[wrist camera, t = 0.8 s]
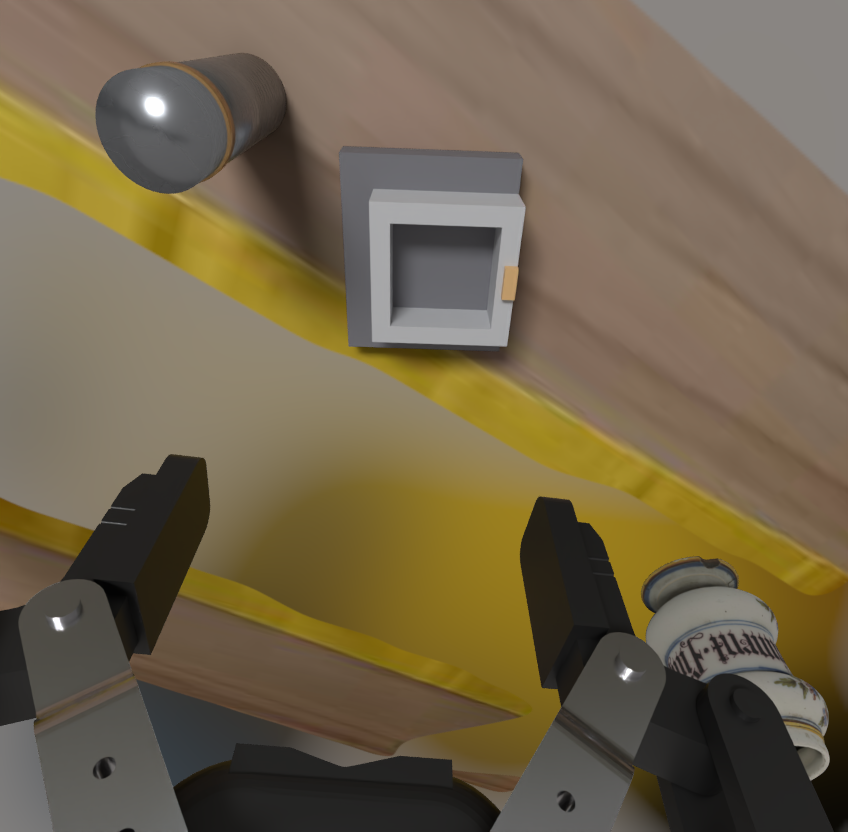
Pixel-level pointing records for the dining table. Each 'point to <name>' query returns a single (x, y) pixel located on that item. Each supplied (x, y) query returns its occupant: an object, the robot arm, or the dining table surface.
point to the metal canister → (187, 117)
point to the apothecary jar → (730, 644)
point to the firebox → (430, 246)
